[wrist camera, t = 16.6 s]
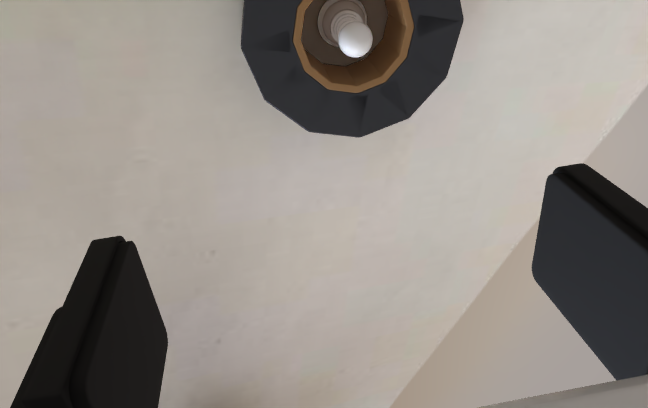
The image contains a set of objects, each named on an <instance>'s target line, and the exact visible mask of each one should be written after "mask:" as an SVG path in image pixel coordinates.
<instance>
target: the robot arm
mask: <svg viewBox="0 0 648 408" xmlns="http://www.w3.org/2000/svg"><path fill="white" fill-rule="evenodd" d="M532 273H533V277H534V279H535V280H536V282H537V283H538V285H539V286H540V287H541V288H542V290H543V291H544V292H545V293H546V294H547V296H548V297H549V298H550V299H551V300H552V302H553V303H554V304H555V305H556V307H557V308H558V309H559V310H560V312H561V313H562V314H563V315H564V317H565V318H566V319H567V320H568V321H569V323H570V324H571V325H572V326H573V328H574V329H575V330H576V331H577V332H578V334H579V335H580V336H581V337H582V339H583V340H584V341H585V342H586V344H587V345H588V346H589V347H590V348H591V350H592V351H593V352H594V353H595V354H596V356H597V357H598V358H599V359H600V361H601V362H602V363H603V364H604V366H605V367H606V368H607V369H608V371H609V372H610V373H611V374H612V375H613V377H614V378H615V379H616V380H617V381H612V382H607V383H602V384H597V385H591V386H586V387H581V388H575V389H571V390H566V391H560V392H555V393H550V394H544V395H539V396H534V397H529V398H524V399H519V400H513V401H508V402H503V403H498V404H493V405H488V406H483V407H478V408H648V208H646V207H645V206H644V205H642V204H641V203H639V202H638V201H636V200H635V199H634V198H632V197H631V196H630V195H628V194H627V193H625V192H624V191H623V190H621V189H620V188H618V187H617V186H616V185H614V184H613V183H611V182H610V181H609V180H607V179H606V178H604V177H603V176H602V175H600V174H599V173H598V172H596V171H595V170H593V169H592V168H591V167H589V166H588V165H586V164H575V165H568V166H562V167H558V168H556V169H555V170H554V172H553V174H551V175H549V176H548V178H547V181H546V186H545V192H544V198H543V203H542V209H541V215H540V221H539V227H538V233H537V239H536V245H535V251H534V256H533V262H532ZM167 347H168V338H167V332H166V329H165V326H164V323H163V320H162V318H161V315H160V312H159V309H158V306H157V304H156V301H155V298H154V295H153V293H152V290H151V287H150V284H149V281H148V279H147V276H146V273H145V270H144V268H143V265H142V262H141V259H140V257H139V254H138V251H137V248H136V246H135V244H134V242H133V241H127V242H126V241H125V239H124V238H123V237H122V236H116V237H110V238H103V239H97V240H93V241H92V242H91V244H90V246H89V248H88V251H87V253H86V255H85V257H84V259H83V262H82V264H81V266H80V268H79V271H78V273H77V275H76V277H75V280H74V282H73V284H72V286H71V289H70V291H69V293H68V295H67V298H66V300H65V302H64V304H63V307H60V308H59V309H57V310H56V311H55V313H54V314H53V316H52V318H51V320H50V322H49V325H48V327H47V329H46V331H45V333H44V335H43V338H42V340H41V342H40V344H39V346H38V348H37V351H36V353H35V355H34V357H33V359H32V361H31V364H30V366H29V368H28V370H27V372H26V375H25V377H24V379H23V381H22V383H21V385H20V388H19V390H18V392H17V394H16V396H15V398H14V401H13V403H12V405H11V407H10V408H158V403H159V397H160V391H161V384H162V378H163V372H164V366H165V360H166V353H167Z"/></svg>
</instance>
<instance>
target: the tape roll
mask: <svg viewBox="0 0 648 408" xmlns="http://www.w3.org/2000/svg"><path fill="white" fill-rule="evenodd" d="M312 1H313V0H244V8H243V20H242V34H241V49H242V51H243V54H244V56H245V58H246V60H247V62H248V65H249V67H250V69H251V71H252V73H253V76H254V78H255V80H256V82H257V84H258V87H259V89H260V91H261V93H262V95H263V98H264V100H266V102H268V103H269V104H271V105H272V106H273V107H275V108H276V109H277V110H279V111H280V112H282V113H283V114H284V115H286V116H287V117H289V118H290V119H291V120H293V121H294V122H296V123H297V124H298V125H300V126H301V127H302V128H304V129H305V130H307V131H309V132H314V133H323V134H332V135H341V136H350V137H362V136H365V135H368V134H370V133H373V132H375V131H378V130H380V129H383V128H385V127H388V126H390V125H393V124H395V123H398V122H401V121H403V120H406V119H408V118H410V117H411V115H412V114H413V113H414V112H415V111H416V110H417V109H418V108H419V107H420V106H421V105H422V103H423V102H424V101H425V100H426V99H427V98H428V97H429V96H430V95H431V94H432V92H433V91H434V90H435V89H436V88H437V87H438V86H439V85H440V84H441V83H442V82H443V80H444V79H445V78H446V76H447V74H448V70H449V67H450V64H451V60H452V57H453V54H454V50H455V47H456V44H457V40H458V37H459V34H460V30H461V27H462V24H463V14H462V8H461V3H460V0H385V3H386V7H387V11H388V18H387V22H386V27H385V31H384V35H383V39H382V40H381V41H380V43H379V44H378V45H377V46H376V47H375V49H374V50H373V51H372V52H371V53H370V55H369V56H368V57H367V58H365V59H363V60H360V61H358V62H355V63H353V64H350V65H348V66H345V67H344V66H337V65H330V64H323V63H321V62H320V61H319V60H317V59H316V58H315V57H314V56H312V55H311V54H310V53H309V52H307V51H306V50H305V49H304V47H303V44H302V42H301V36H302V29H303V22H304V15H305V10H306V9H307V8H308V6H309V5H310V4H311V2H312Z"/></svg>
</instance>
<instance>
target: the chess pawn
mask: <svg viewBox="0 0 648 408" xmlns="http://www.w3.org/2000/svg"><path fill="white" fill-rule="evenodd" d="M318 29H319V32H320V34H321V36H322V38H323V39H324V40H325V41H326V42H327V43H328V44H330V45H332V46H335V47H340V49H341V50H342V52H343V53H344V54H346V55H347V56H349V57H354V58H356V57H361V56H363V55H365V54H366V53H367V52H368V51H369V50H370V48H371V46H372V42H373V36H372V32H371V30H370V29H369V27H368V26H367V14H366V10H365V8H364V6H363V5H362V3H361V2H360V1H359V0H328V1H326V2H325V4H324V5H323V6H322V8H321V10H320V12H319V15H318Z"/></svg>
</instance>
